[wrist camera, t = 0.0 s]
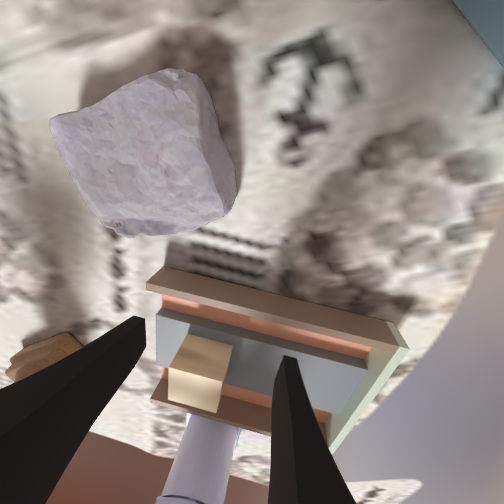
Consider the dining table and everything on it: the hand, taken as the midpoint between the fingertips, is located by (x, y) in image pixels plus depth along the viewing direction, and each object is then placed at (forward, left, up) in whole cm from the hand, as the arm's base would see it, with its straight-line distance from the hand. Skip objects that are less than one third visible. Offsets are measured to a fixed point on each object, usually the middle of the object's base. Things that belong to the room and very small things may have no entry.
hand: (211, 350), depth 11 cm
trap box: (-12, -3, -10) cm, 16 cm away
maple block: (-12, +2, -9) cm, 15 cm away
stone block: (+6, +8, -11) cm, 15 cm away
